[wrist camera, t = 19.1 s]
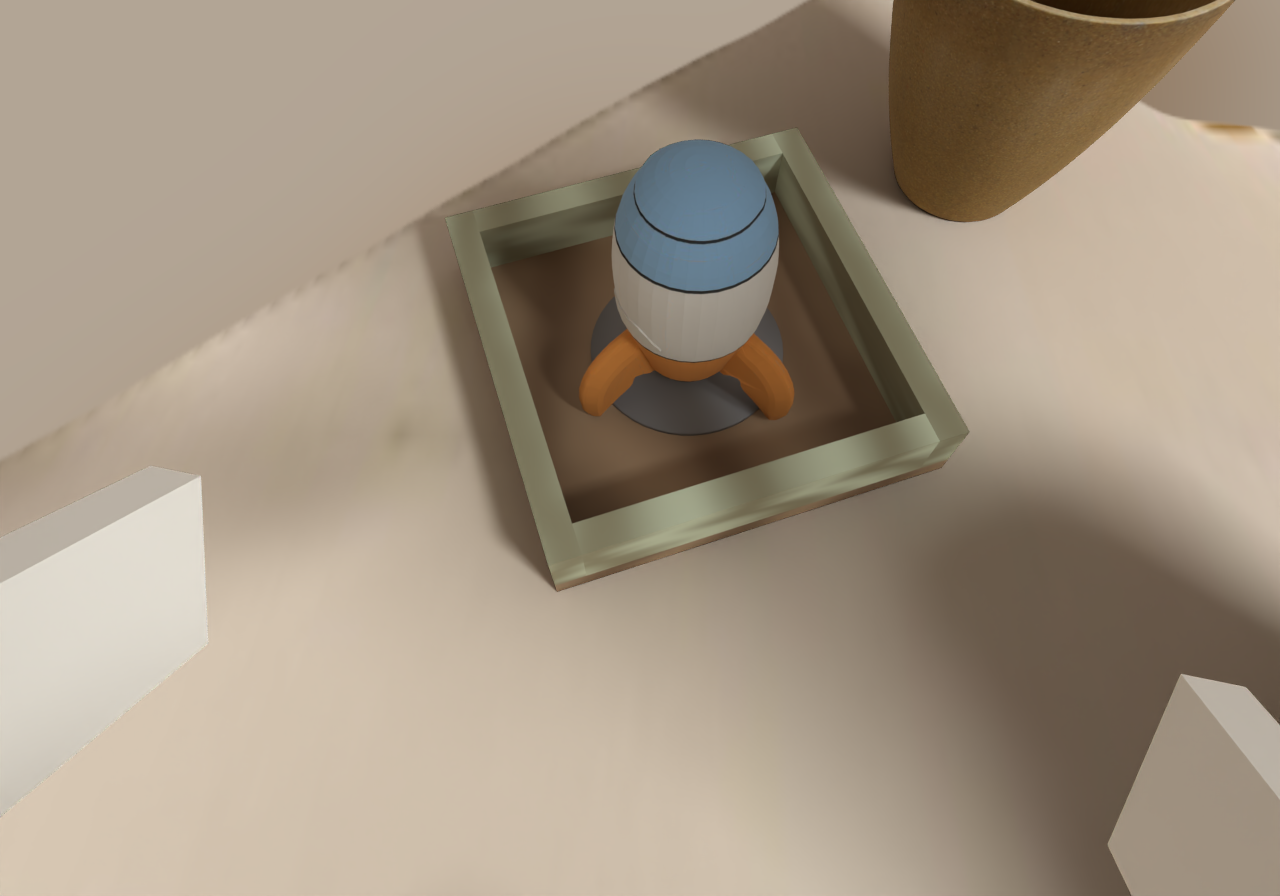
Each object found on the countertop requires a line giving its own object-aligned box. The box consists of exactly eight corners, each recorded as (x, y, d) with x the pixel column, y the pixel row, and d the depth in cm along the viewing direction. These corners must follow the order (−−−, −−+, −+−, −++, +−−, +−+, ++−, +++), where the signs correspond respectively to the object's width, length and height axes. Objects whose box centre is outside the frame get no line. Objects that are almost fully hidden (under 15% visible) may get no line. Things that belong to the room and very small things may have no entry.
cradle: (786, 179, 50) (797, 127, 46) (941, 467, 42) (969, 431, 38) (460, 265, 47) (445, 217, 44) (557, 591, 39) (548, 565, 35)
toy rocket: (585, 463, 41) (504, 220, 29) (608, 310, 48) (549, 59, 36) (795, 461, 40) (799, 204, 28) (790, 303, 46) (793, 37, 34)
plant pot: (987, 321, 45) (1146, 76, 31) (783, 173, 50) (839, -100, 36) (1136, 176, 50) (1335, -97, 35) (935, 52, 55) (1040, -233, 40)
